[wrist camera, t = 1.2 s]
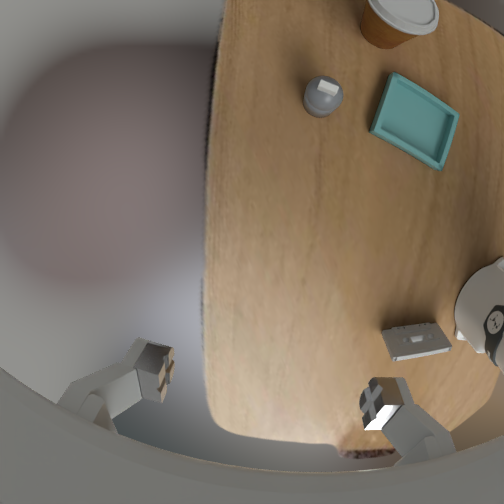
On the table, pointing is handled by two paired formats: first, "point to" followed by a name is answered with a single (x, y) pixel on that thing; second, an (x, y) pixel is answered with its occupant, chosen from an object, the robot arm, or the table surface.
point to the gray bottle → (322, 96)
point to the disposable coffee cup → (397, 21)
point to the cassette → (415, 341)
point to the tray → (415, 121)
